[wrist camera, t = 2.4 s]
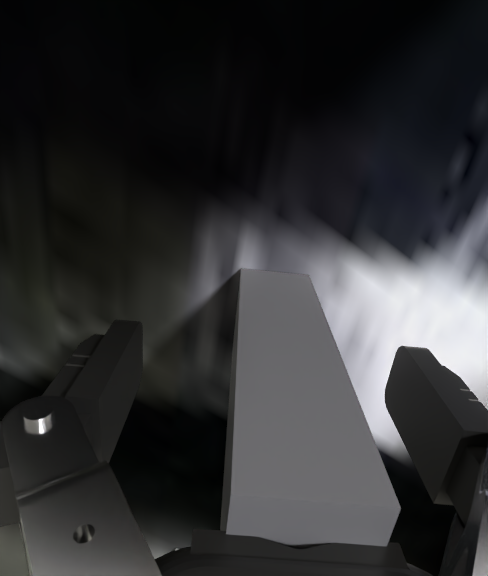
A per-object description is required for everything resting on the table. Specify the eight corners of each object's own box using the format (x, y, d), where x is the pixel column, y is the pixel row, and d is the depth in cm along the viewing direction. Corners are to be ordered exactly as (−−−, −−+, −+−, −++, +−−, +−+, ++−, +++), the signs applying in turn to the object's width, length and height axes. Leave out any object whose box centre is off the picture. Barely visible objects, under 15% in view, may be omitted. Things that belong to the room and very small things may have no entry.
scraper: (359, 279, 14) (525, 517, 6) (292, 564, 20) (324, 877, 12) (189, 263, 14) (100, 484, 5) (175, 556, 20) (123, 867, 12)
